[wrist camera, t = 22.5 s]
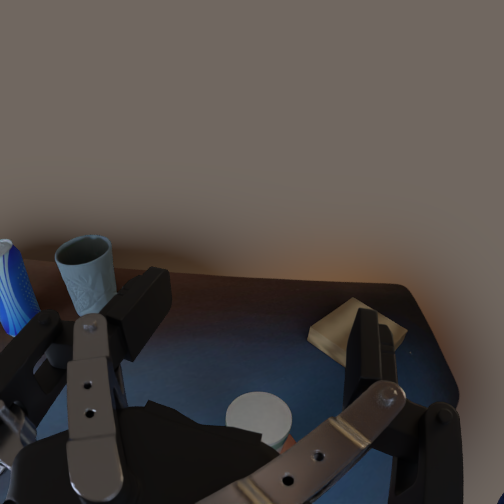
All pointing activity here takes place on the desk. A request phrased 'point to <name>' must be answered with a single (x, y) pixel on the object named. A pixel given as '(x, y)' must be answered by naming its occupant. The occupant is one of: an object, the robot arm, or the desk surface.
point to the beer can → (15, 290)
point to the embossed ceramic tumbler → (87, 272)
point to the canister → (261, 417)
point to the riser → (345, 330)
